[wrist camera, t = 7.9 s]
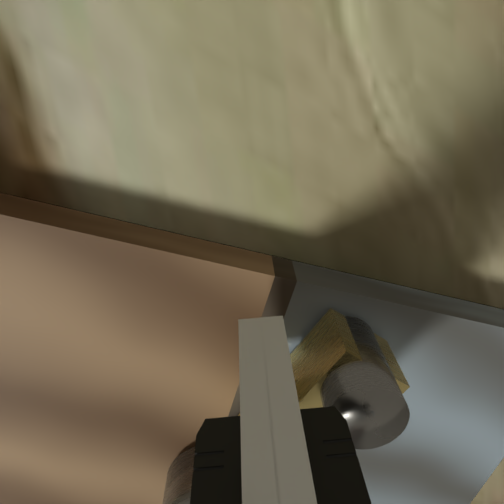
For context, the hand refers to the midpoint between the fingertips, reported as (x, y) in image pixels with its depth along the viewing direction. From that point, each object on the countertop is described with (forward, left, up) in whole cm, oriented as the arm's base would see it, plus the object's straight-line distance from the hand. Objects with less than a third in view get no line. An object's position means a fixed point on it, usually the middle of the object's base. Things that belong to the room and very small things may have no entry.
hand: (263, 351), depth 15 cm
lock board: (-6, 0, -3) cm, 7 cm away
